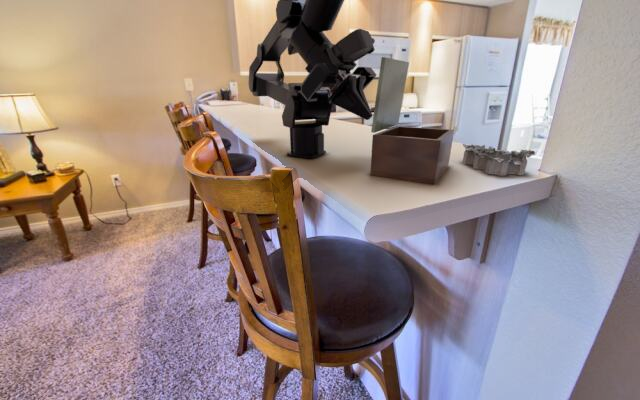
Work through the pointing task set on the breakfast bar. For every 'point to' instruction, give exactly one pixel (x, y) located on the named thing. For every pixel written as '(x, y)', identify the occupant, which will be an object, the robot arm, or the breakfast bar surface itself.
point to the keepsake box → (411, 153)
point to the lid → (389, 93)
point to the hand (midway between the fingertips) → (369, 118)
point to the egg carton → (496, 160)
